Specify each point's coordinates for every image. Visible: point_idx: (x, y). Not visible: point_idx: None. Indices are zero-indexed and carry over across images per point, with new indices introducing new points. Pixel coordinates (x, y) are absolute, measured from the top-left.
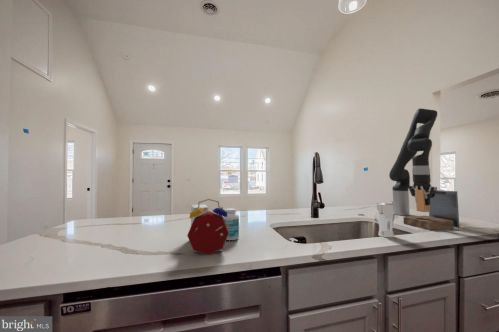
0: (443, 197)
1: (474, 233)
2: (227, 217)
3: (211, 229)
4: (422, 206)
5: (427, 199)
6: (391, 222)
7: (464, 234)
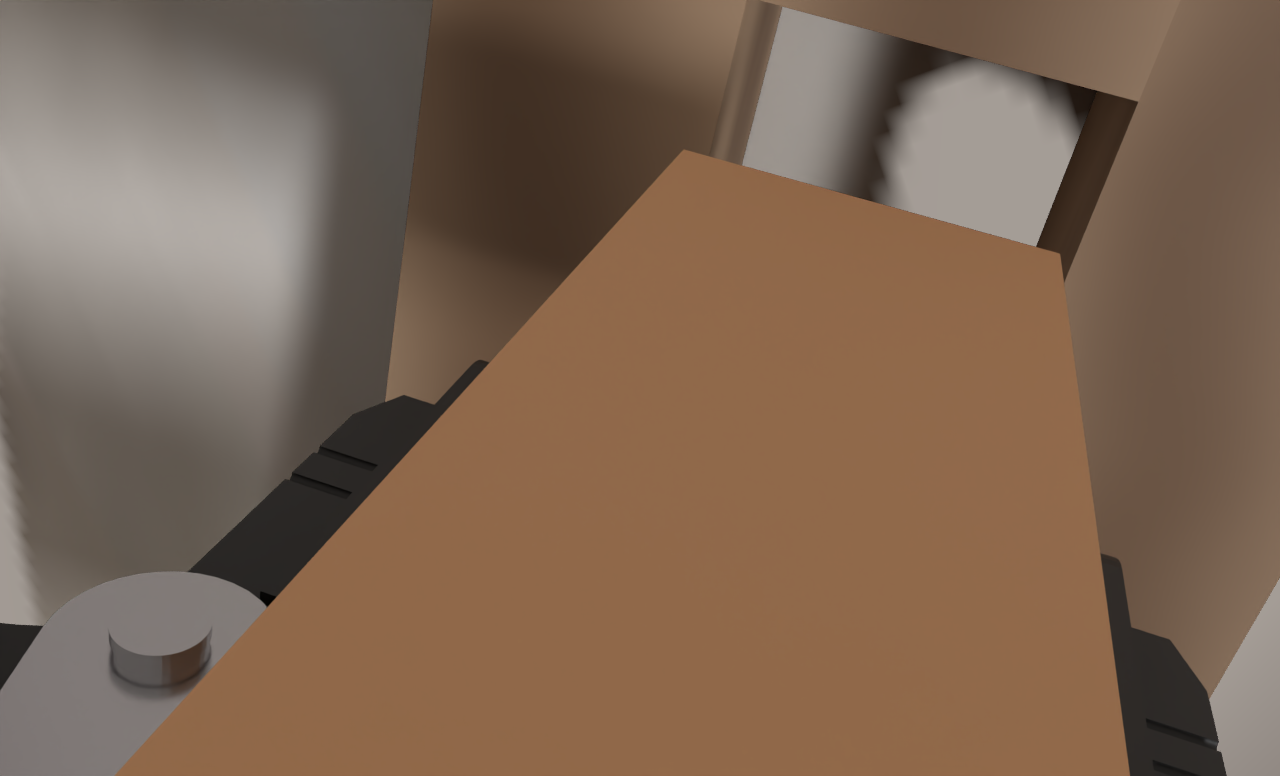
0: None
1: (71, 358)
2: None
3: None
4: (690, 259)
5: (224, 572)
6: None
7: (57, 68)
